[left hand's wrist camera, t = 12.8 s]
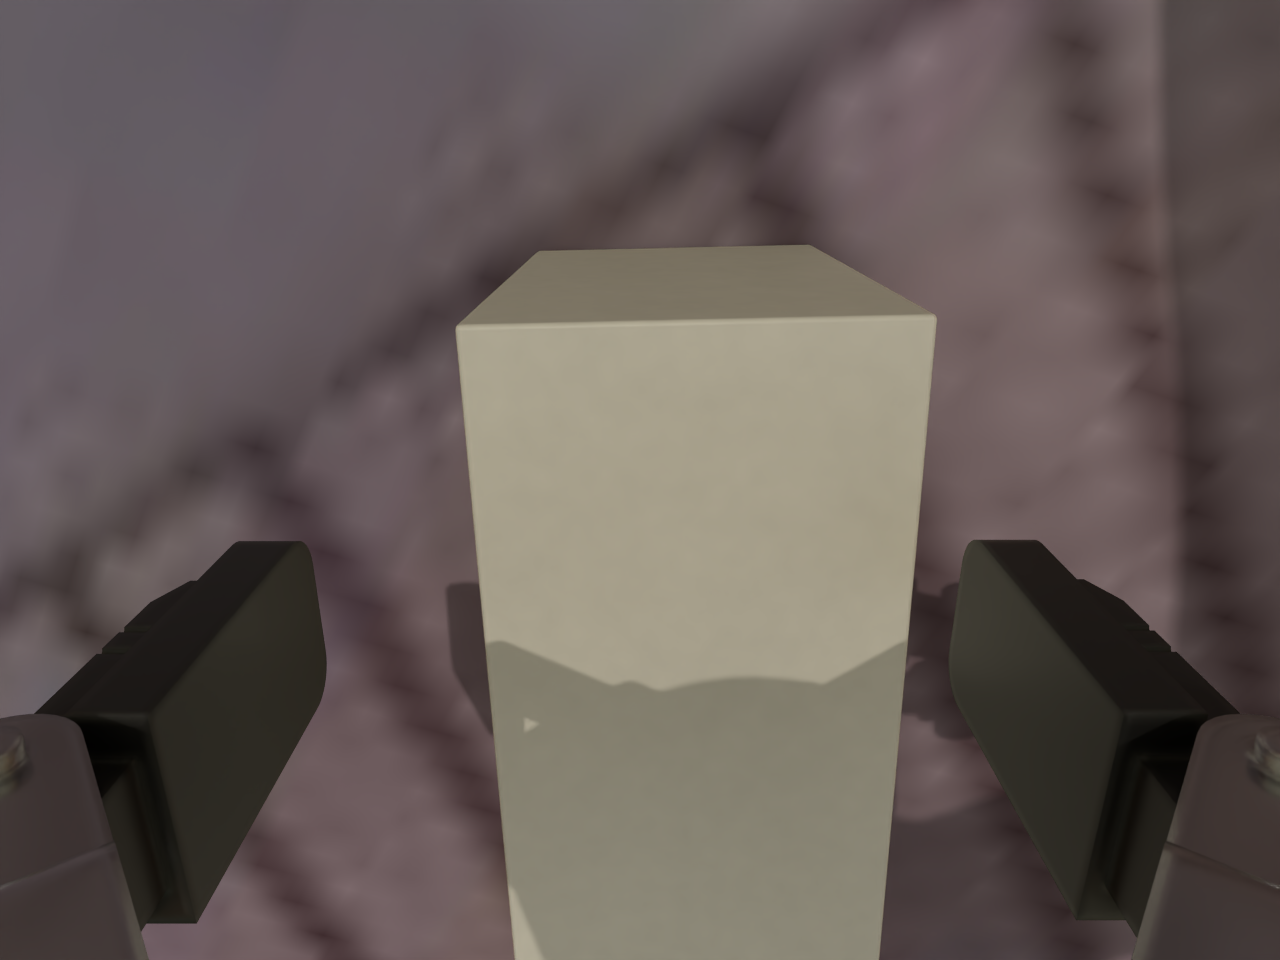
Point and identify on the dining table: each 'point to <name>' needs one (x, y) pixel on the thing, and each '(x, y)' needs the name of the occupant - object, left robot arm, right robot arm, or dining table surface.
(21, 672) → the dining table surface
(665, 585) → the box
